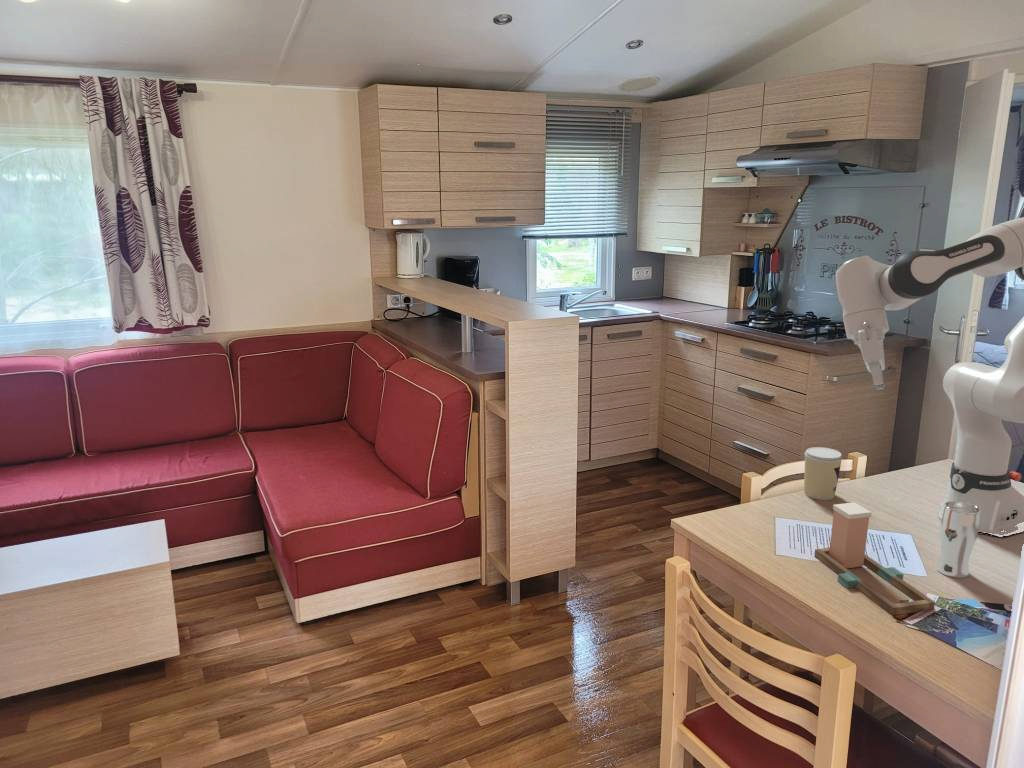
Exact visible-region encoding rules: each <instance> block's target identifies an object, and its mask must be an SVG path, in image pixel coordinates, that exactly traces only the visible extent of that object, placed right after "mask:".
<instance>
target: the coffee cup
mask: <svg viewBox="0 0 1024 768" xmlns="http://www.w3.org/2000/svg"><path fill="white" fill-rule="evenodd" d="M842 460H843V456H842V453H841V452H840V451H839V450H837V449H833V448H830V447H824V446H815V447H813V446H812V447H809V448H807V449H806V450H805V451H804V474H803V475H804V477H803V478H804V479H803V480H804V481H803V486H804V487H803V490H804V491H803V493H804V495H805V496H807V497H809V498H811V499H816V500H823V501H825V500H826V501H828V500H829V501H830V500H833V499H834V498H835V495H836V491H837V486H838V481H839V476H840V472H841V466H842Z"/></svg>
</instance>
